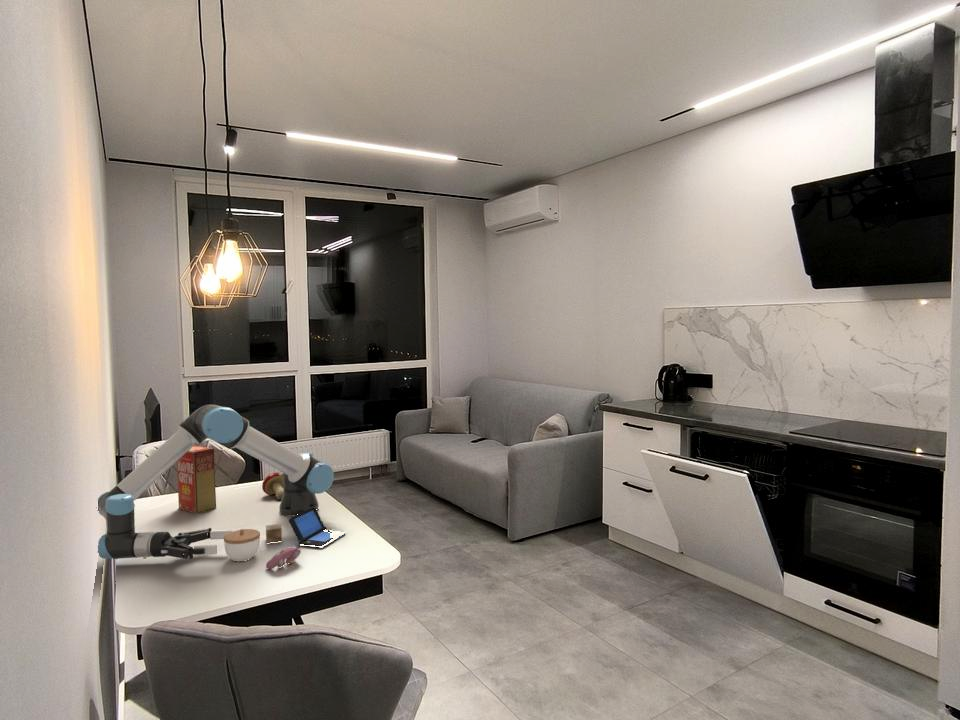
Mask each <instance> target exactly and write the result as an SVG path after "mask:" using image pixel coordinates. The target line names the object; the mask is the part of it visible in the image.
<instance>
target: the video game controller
mask: <svg viewBox="0 0 960 720" xmlns="http://www.w3.org/2000/svg"><path fill="white" fill-rule="evenodd" d="M301 553H302V552H301V549H300V548H298V547H296V546H295V545H293V546H292V547H291V546H289V547H283V549H282V550H280V551H279V552H276V553H275V554H274V555H273V556H272V557H271V558H270V559H269V560H268V561H267V562H266V565H265V568H266V569H267V568H268V569H270V570H272V569H274V568H275V567H277V568H279V567H281V566H283V565H284V566H286V565H288V563H291V564H292V563H293V562H294V561H295V560H296V559H297V558H299V557H300V555H301ZM292 561H293V562H292ZM268 569H267V570H268Z"/></svg>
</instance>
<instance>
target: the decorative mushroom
mask: <svg viewBox="0 0 960 720" xmlns="http://www.w3.org/2000/svg"><path fill="white" fill-rule="evenodd" d="M261 487H262V492H263V493H264V494H266V495H269V496H273V495H272V494H276V495H275V496H276V498H277V499H278V500H281V499H282V497H283V493H284V487H283V472H279V471H278V472H272V473H270V474H268V475H267V476H265V478H264V480H263V482H262V486H261Z"/></svg>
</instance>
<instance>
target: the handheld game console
mask: <svg viewBox="0 0 960 720" xmlns="http://www.w3.org/2000/svg"><path fill="white" fill-rule="evenodd" d="M288 524H289V525H290V527H291V528H292V531H293V533H294V534H295V535H294V536H296V539H297V541H298V545H299V544H304V545H315V546H322V545H324V544H326V543H327V542H329V541H330V540H331V539H333V538H330V533H332V532H330V531H329V530H328V532H330V533H328V532H324V531H323V530H325V529H327V526H325V524H324V522H323V520H321V516H320V514H319V512H318V510H316V509H315V508H310V509H308V510H306V511H304V512H302V513H300V514H298V515H295V516H290V518H289V519H288Z"/></svg>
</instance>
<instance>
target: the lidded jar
mask: <svg viewBox="0 0 960 720" xmlns="http://www.w3.org/2000/svg"><path fill="white" fill-rule="evenodd" d="M260 536H261V532H260V531H259V530H257V529H253V528H252V529H251V528H245V529H244V528H241V529H237V530H233V531H232V532H230V533H228V534H226V535H225V536H224V539H223V542H224V543H223V545H224V551H225V554H226V556H227V557H228V558H229V559H231V560H233V561H232V562H234V561H238V562H237V563H240V562H239V561H245V560H248V559H250V560H252V559H253V558H254V556H255V555H256V554H257V552H258V550H259V548H260V539H261V538H260ZM252 557H253V558H252ZM251 558H252V559H251ZM248 561H249V560H248ZM245 562H246V561H245Z"/></svg>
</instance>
